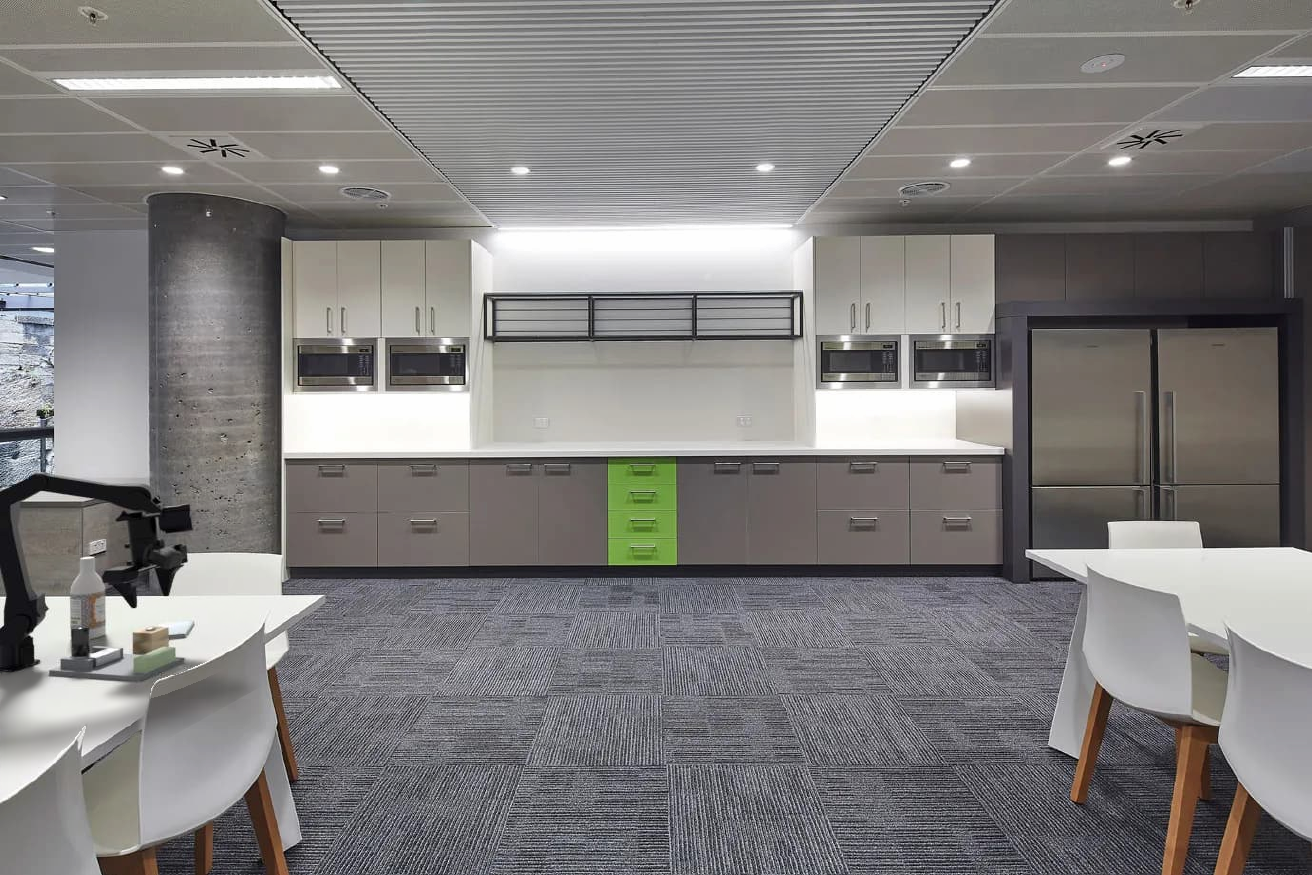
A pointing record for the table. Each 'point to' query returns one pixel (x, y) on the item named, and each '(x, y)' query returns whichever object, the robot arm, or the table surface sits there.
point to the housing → (150, 639)
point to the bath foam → (88, 600)
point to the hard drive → (178, 628)
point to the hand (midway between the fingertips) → (150, 601)
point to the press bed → (120, 665)
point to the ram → (82, 648)
